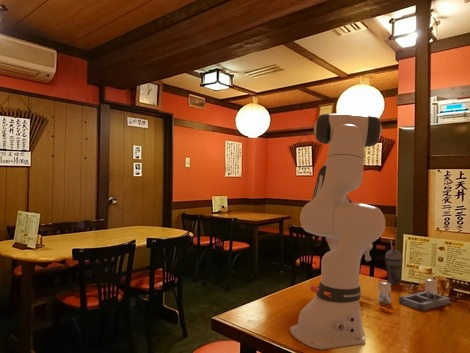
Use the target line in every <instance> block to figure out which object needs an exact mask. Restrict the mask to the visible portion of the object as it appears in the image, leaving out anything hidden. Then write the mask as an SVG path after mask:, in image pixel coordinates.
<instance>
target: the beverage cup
mask: <svg viewBox="0 0 470 353" xmlns="http://www.w3.org/2000/svg"><path fill="white" fill-rule="evenodd" d="M390 248H391V249H390V250H387V251H386V253H385V256H384V259H385V260H384V261H385V265H386V279H387V280H386V281H387V282H389V283H391V286H396V285H400V283H401V273H402V265H403V259H404V258H403V255H402V253H401V252H400V251H399V250H397V249H393V242H392V239H390Z"/></svg>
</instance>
